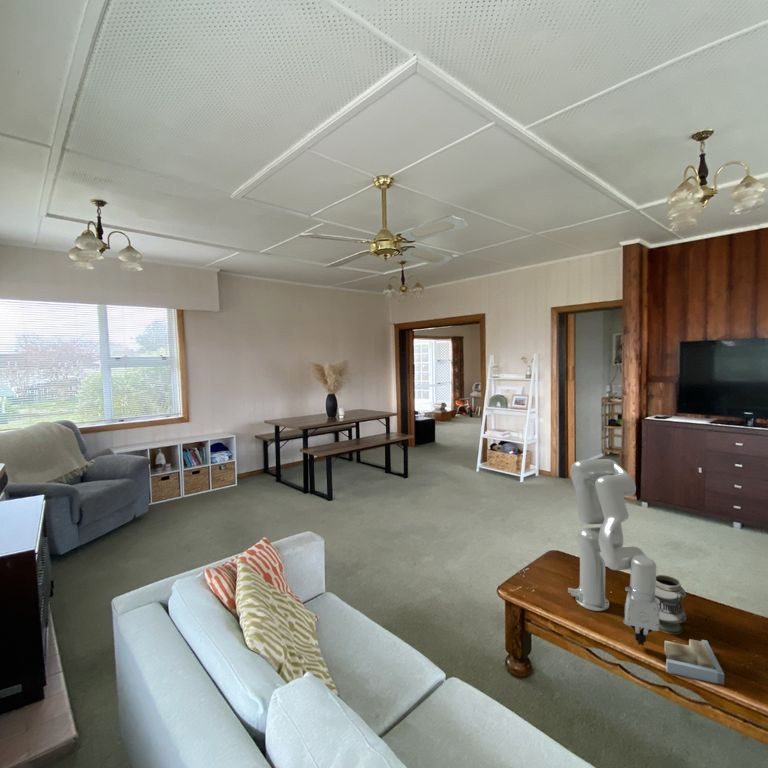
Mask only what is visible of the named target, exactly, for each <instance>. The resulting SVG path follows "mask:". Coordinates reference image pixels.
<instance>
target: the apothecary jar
mask: <svg viewBox="0 0 768 768" xmlns="http://www.w3.org/2000/svg"><path fill="white" fill-rule="evenodd" d="M686 597H687V593H686V590H685V589H684V588H683V587H682V583H681V582H680V580H679V579H677V578H674V577H672V576H669V575H666V574H665V575H664V574H658V575H657V574H656V589H655V598H656V599H657V601H658V605H659V631H660V632H662V633H666V634H669V635H679V634H681V633H682V632H683V628H682V626H681V625H680V624H683V623H685V622H686V620H687V613H686V612H685V610H684V608H683V601H684V600H686Z"/></svg>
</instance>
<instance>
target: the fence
mask: <svg viewBox="0 0 768 768" xmlns="http://www.w3.org/2000/svg"><path fill="white" fill-rule="evenodd" d="M700 641H702V642H704V645H705V647H706V649H707V651H708V653H709V655H710V657H711V659H712V661H713V663H714V665H715V666H714V669H712V668H707V667H702V666H698V665H693V664H688V663H684V662H679V661H675V660H670V659H667V658H666V660H665V661H666V662H665V666H666V667H665V670H666V672H667V673H669V674H673V675H678V676H680V677H681V676H682V677H686V678H691V679H695V680H699V681H704V682H709V683H713V684H717V685H723V686H725V673H724V670H723V668H722V667H721V665H720V663H719V661H718V659H717V658H716V656H715V653H714V651H713V650H712V647H711V646H710V644H709V641H708V640H705V639H701V640H700Z"/></svg>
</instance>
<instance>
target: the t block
mask: <svg viewBox="0 0 768 768" xmlns="http://www.w3.org/2000/svg"><path fill="white" fill-rule="evenodd" d="M664 654H665V658H666V659H670V660H675V661H679V662H684V663H688V664H693V665H698V666H702V667H707V668H712V669H714V666H715V665H714V663H713V661H712V659H711V657H710V655H709V653H708V651H707V649H706V647H705V645H704V642H702V641H701V640H696V639H692V638H691V639H690V638H689V640H688V644H684V643H678V642H673V641H668V640H664Z"/></svg>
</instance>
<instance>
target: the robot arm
mask: <svg viewBox="0 0 768 768" xmlns="http://www.w3.org/2000/svg"><path fill="white" fill-rule="evenodd" d="M569 473H570V474H569V475H570V478H571V482H572V484H573V487H574V490H575V497H576V505H577V512H578V518H579V520H580V522H581V523H583V524H585V525H601V526H598V527H585V528H582V529H581V530H579V532H578V533H577V536H576V537H577V538H576V539H577V543H578V548H579V586H578V588H572V587H567V593H569V594H571V596H573V597H575V602H577V604H578V605H579V606H581V607H583V608H584V609H587V610H590V611H595V612H604V611H606V610H608V609H609V608H610V601H609V600H608V599H607V598H606V567H607V568H608V569H610V570H612V571H626V570H630V579H629V586H625V587H624V588H625V589H624V590H625V592H627V594H626V598H625V603H624V611H623V613H624V618H623V624H624V625H626V626H629V627H631V629H632V630H633V631H634V632H635V633H634V635H635V636H634V639H635V641H637V645H638V646H640V645H641V646H645V645H644V643H646V642H647V635H648V634H649V633H651V632H652V631H653V632H659V631H660V630H659V605H658V601H657V599H656V598H655V589H656V576H657V564H656V562H655V561H654V560H653V559H652V558H651V557H648V556H647V555H646V554H645V552H644V551H643V550H642V549H641V548H639V547H637V546H624V535H623V533H624V532H623V528H622V527H623V526H622V523H623V522H625V521H627V520H628V519H629V517H630V515H629V512H628V508H627V505H626V502H625V498H624V497H632V496H634V495H635V494H636V491H637V486H636V483H635V481H634V479H633V478H632V476H631V475H630V474H629V473H628V472H627V471H626V470H625V469H624V468H623V467H622V466H621V465H619V464H618V462H616V461H615V460H613V459H610V458H599V459H597V458H596V459H595V458H594V459H580V460H578V461H575V462H574V463H572V464H571V466H570V471H569ZM592 481H595V482H594V483H593V482H592Z"/></svg>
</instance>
